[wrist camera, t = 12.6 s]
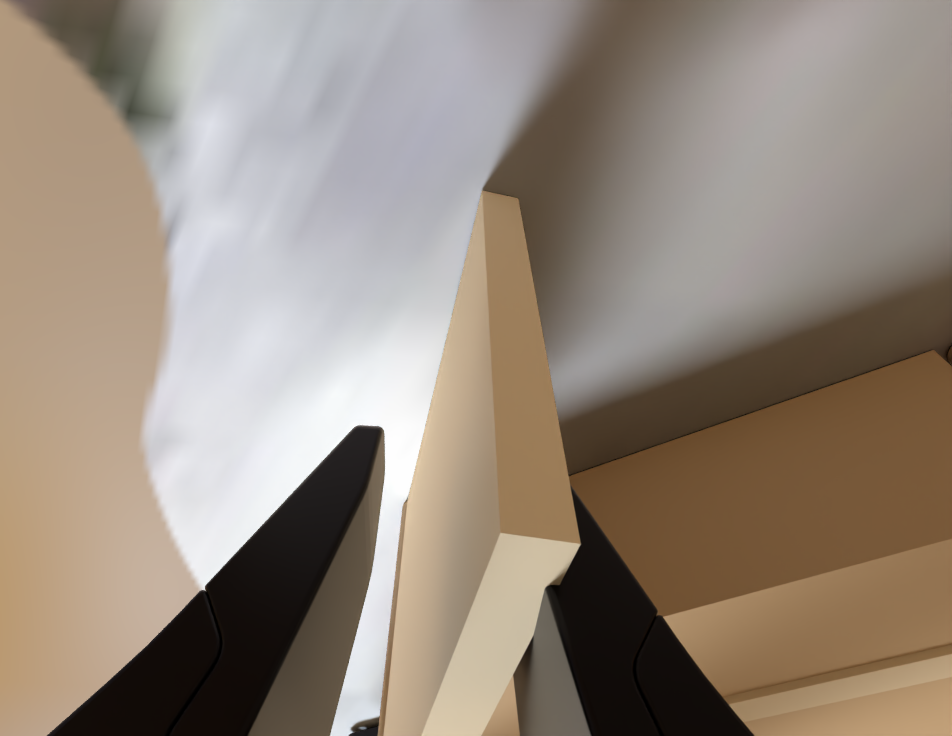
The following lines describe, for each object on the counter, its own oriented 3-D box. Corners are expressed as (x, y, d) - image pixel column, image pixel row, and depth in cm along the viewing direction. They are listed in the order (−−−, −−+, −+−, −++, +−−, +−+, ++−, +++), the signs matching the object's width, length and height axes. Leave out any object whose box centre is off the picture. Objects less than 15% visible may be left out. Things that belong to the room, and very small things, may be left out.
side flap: (431, 521, 19) (410, 882, 12) (400, 517, 19) (360, 879, 12) (522, 199, 13) (590, 545, 6) (477, 189, 13) (489, 532, 6)
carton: (545, 668, 25) (560, 820, 21) (423, 526, 20) (410, 693, 15) (948, 563, 21) (1068, 724, 17) (933, 350, 16) (1103, 507, 11)
